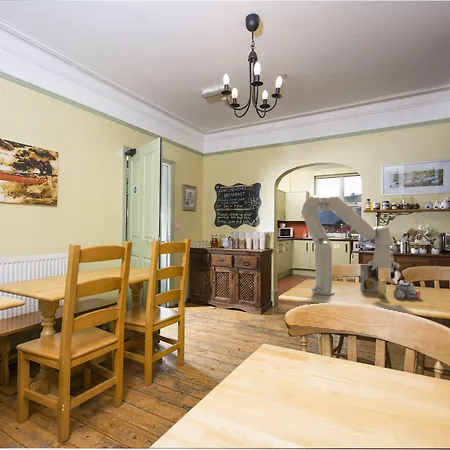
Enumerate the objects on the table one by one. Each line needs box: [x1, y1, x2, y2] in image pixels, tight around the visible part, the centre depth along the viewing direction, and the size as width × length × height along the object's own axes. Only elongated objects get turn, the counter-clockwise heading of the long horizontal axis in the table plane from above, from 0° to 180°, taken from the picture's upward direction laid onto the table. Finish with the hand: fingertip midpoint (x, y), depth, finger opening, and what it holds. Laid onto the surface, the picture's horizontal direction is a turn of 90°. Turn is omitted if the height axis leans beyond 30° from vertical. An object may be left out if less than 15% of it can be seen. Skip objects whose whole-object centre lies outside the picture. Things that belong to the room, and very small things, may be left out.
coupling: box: [377, 278, 387, 299], centre depth 175 cm, size 4×4×10 cm
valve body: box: [393, 283, 421, 301], centre depth 175 cm, size 16×11×7 cm
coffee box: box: [359, 264, 379, 292], centre depth 193 cm, size 9×6×16 cm
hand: (383, 277), depth 175 cm, fingers open, 9 cm apart
